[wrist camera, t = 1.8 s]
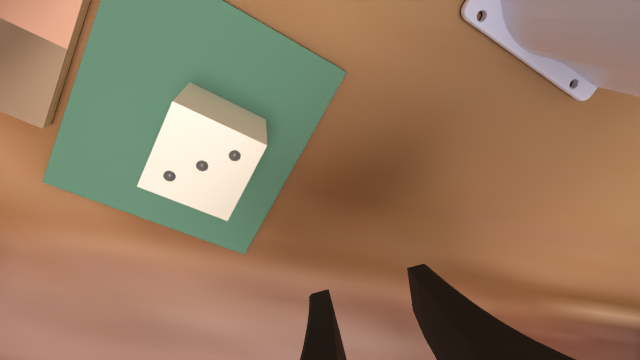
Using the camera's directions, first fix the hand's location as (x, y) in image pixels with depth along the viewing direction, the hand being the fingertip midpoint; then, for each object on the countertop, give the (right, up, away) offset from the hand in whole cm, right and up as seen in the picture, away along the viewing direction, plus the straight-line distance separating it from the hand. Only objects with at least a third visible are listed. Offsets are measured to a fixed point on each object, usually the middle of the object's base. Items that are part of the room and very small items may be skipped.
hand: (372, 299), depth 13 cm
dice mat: (-8, +7, +6) cm, 12 cm away
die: (-7, +7, +6) cm, 11 cm away
